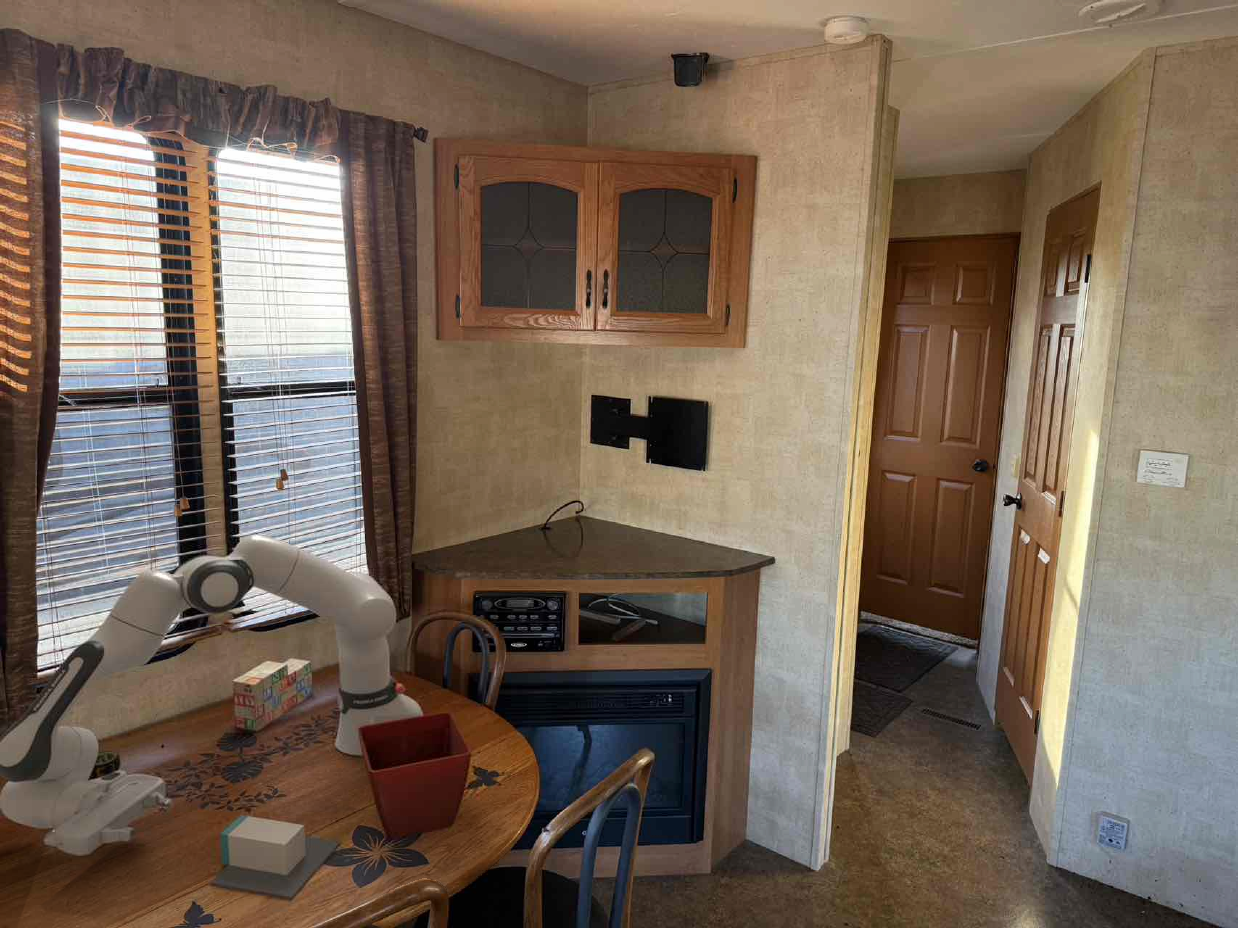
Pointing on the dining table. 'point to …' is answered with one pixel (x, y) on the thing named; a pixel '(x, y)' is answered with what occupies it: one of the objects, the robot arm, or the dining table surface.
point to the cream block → (263, 844)
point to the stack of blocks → (270, 692)
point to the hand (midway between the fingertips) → (151, 819)
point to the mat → (276, 882)
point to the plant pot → (416, 772)
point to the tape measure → (105, 764)
